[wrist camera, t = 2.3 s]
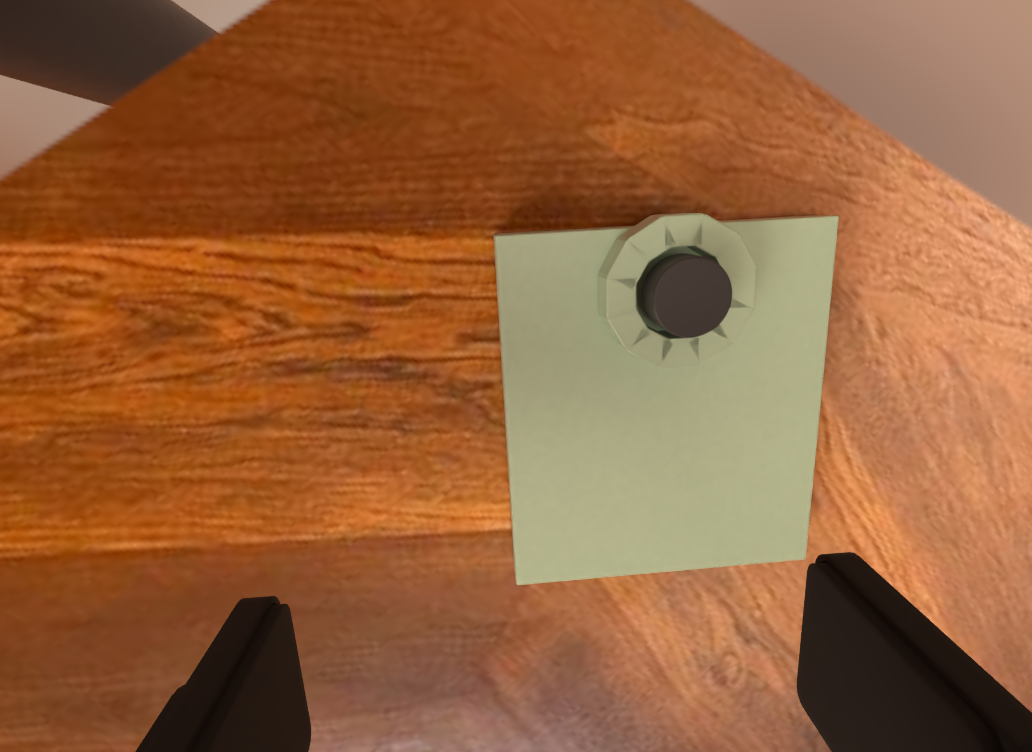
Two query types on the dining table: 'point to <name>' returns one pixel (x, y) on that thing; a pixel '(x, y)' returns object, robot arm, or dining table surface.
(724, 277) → the button
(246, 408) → the dining table surface
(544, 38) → the dining table surface
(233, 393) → the dining table surface
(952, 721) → the robot arm
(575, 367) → the scale
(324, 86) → the dining table surface
